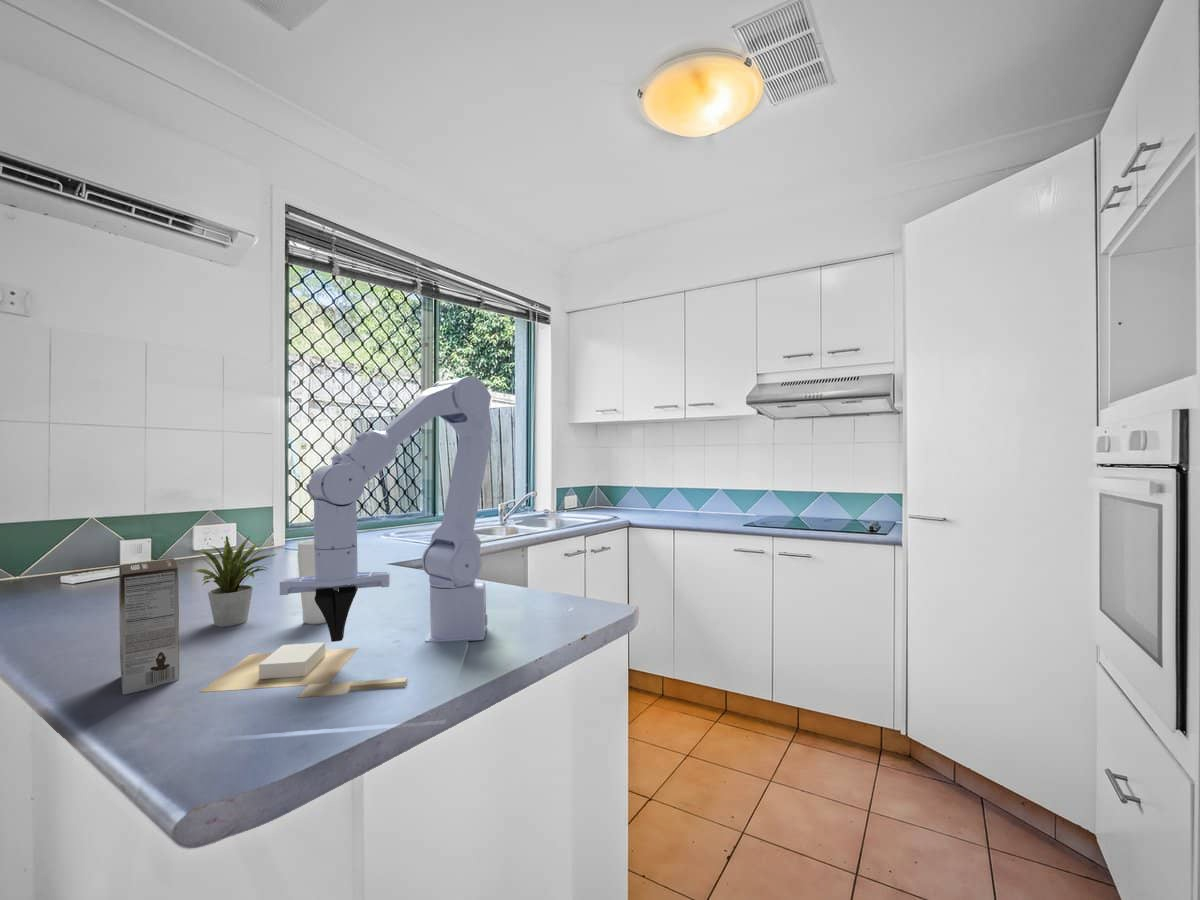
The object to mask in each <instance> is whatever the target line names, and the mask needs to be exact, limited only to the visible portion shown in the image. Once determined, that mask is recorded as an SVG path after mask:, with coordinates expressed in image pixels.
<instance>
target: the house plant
mask: <svg viewBox="0 0 1200 900" xmlns="http://www.w3.org/2000/svg"><path fill="white" fill-rule="evenodd" d="M250 537H251V535H249V536H248V537H247V538H246V539H245V540H244V541H243V542H242V543H241V545H240V546H239V547H238V548H237V550H236V551H235V553H234V549H232V547H231V543H229V542H230V541H229V537H228V535H226V536H225V543H224V546H223V552H221V550H220V549H219V548H217V547H216V546H213V545H209V547H211V548H214V549H215V550H216V551H217V552H218V554H219V556H220V558H221V563H220V562H219V559H218V558H217V557H216V556H215V555H214V554H212V552H210V551H208V550H206V549H204V548H201V549H200V551H198V552H199V553H201V554H204V555H205V556H206V557H208V558H209V560H211V562H212V563H213V564H214V566H215V567H214V566H213V564H212V563H210V562H209V561H208V560H207V559H206V558H204V557H203V556H202V555H200V554H198V553H196V555H197V556H199V557H201V558H202V559H203V560H204V561H205V562H206V563H207V564H209V566H211V567H212V568H213V570H214V572H215V573H216V574H215V573H214V572H213V571H211V570H208V569H205V568H199V569H196V570H194V571H193V573H200V574H205V575H203V579H202V582H204V583H203V584H202V586H204V585H205V584H208V583H210V582H211V580H209V579H214V580H212V582H214V583H216V585H217V586H218V587H216V588H212V589H210V590H209V591H207V594H208V599H209V605H210V609H211V615H212V618H213V619H212V620H213V624H214V626H215V627H223V628H224V627H232V626H237V625H241V624H243V623H246V622H247V621H248V618H249V611H250V606H251V599H252V593H253V589H254V588H253V585H250V584H243V583H244V582H242V581H244V580H245V579H246V578H247V576H248V577H250V576H251V577H252V578H253V579H255V574H254V573H256V572H259V571H261V572H262V571H266V572H267V571H268V570H269V571H270V569H269V568H268V567H266V565H268V563H266V564H263V565H261V566H260V565H257V566H256V565H255V566H251V565H252V564H255V563H257V562H259V561H261V560H264V559H266V558H271V557H274V556H276V555H278V554H276V553H275V554H266V555H262V556H258V557H254V556H256V554H258V553H260V552H263V551H265V549H263V548H265V547H266V548H267V547H270V546H271V544H269V545H264V546H261V547H259V548H258V549H256V547H257V546H259V544H261V543H262V542H264V541H263V540H262V541H260V542H256V543H254V544H252V545H251V547H249V549H248V550H246V551H245V553H244V554H243V552H244V550H245V549H246V547H245V546H246V544H247V542H248V541H249V539H250ZM274 545H275V543H274V544H272V546H274ZM255 549H256V550H255ZM258 550H259V551H258ZM233 553H234V554H233ZM242 554H243V555H242ZM252 554H253V555H252ZM251 555H252V556H251ZM250 556H251V557H250ZM248 557H250V558H249V560H247V559H248ZM253 557H254V558H253ZM221 564H222V565H221ZM271 564H272V563H270V565H271ZM250 566H251V567H250ZM248 567H250V568H248ZM247 568H248V569H247ZM253 569H254V570H253ZM251 570H252V571H251ZM269 571H268V572H269Z"/></svg>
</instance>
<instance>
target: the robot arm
mask: <svg viewBox="0 0 1200 900" xmlns="http://www.w3.org/2000/svg"><path fill="white" fill-rule="evenodd" d="M491 400H492V394H491V393H490V392H489V390H488V388H487V386H485V384H484V382H482V380H480V379H479V378H477V377H476V376H472V375H468V376H467V375H466V376H462V378H455V379H450V380H449V379H448V380H439V381H436V382H435V383H433V384H432V385H431V387H429V388H427V389H425V390H423V391H422V392H421V393H420V394H419V396H417V398H415V399H414V400H413V401H412V402H411V403H410V404H409V405H408V406H407V407H406V408H405V409H403V410H402V411H401V412H400V413H399V414H398V415H397V416H396V417H395V418H393V420H392V421H390V423H388V424H387V425H386V426H385V427H384V428H383V429H382V430H376V429H375V430H373V429H372V430H371V429H370V430H368V431H367V432H366V431H361V432H359V433H358V434H356V435H355V437H354V438H355V440H356V441H355V442H353V443H352V444H351V445H350V446H348V447H347V449H345V450H343V451H342V452H341V453H340V454H338V453H335V454H334V455H333V456H331V458H330V460H331V464H326V465H322V466H319V467H318V468H317V469H315V470H314V471H313V472H312V474H311V475H310V479H308V483H306V484H305V487H306V491H307V493H308V495H309V496H310V498H311V499H312V500H313V539H314V553H315V576H307V577H299V576H298V577H293V578H292V577H290V578H283V579H282V580H281V581H279V595H280V596H288V595H291V594H299V593H300V594H301V593H303V592H316V594H315V597H314V599H315V602H316V604H317V606H318V607H319V609H320V610H321V612H322V614H323V616H324V618H325V620H326V623H325V624H326V625H327V628H328V631H329V636H330V642H332V643H333V642H335V643H336V642H341V641H343V639H344V636H345V628H346V627H345V626H346V623H347V618H348V615H349V612H350V609H351V606H352V603H353V602H354V598H355V597H356V595H357V592H358V589H366V588H378V587H381V588H389V587H390V584H391V582H390V581H391V577H390V575H391V572H390V571H358V568H359V567H358V565H359V564H358V516H357V515H358V513H357V500H358V499H360V498H361V497H362V495H363V493H364V490H365V485H366V484H367V483H369V482H370V481H371V480H372V479H373V478H375V476H377V475H378V474H379V473H380V472H381V471H383V469H385V468H386V467H387V466H388V465H389V464H391V462H392V461H393V460H395V458H396V457H397V453H398V451H397V450H398V449H397V448H398V446H399V445H400V444H402V442H404V441H406V439H408V438H409V437H410V436H411V435H413V434H415V432H416V431H418V430H419V429H420V428H422V427H423V426H424V425H425V424H427V423H428V422H430V421H431V420H432V419H433V418H436V417H440V418H441V419H443V421H445V422H446V423H447V424H448V425H450V426H451V427H452V428H453V430H454V431H455V432H456V434H457V435H458V436H459V437H458V442H457V448H456V452H455V458H454V462H453V467H452V471H451V472H452V473H451V478H450V483H449V487H448V491H447V498H446V501H445V506H444V511H443V517H442V522H441V524H440V525H439V527H437V529H435V530H434V531H433V533H432V534H431V538H430V542H429V544H428V546H427V547H426V549H424V551H423V554H422V558H421V565H422V569H423V572H425V573H426V574H427V575H428V577H429V579H428V580H429V606H430V609H429V611H430V614H429V615H430V620H429V622H430V626H429V628H430V630H429V632H428V634H427V635H426V637H425V639H424V642H425V643H438V642H439V643H440V642H453V641H455V642H456V641H457V642H458V641H468V642H470V641H471V642H472V641H484V639H485V636H486V631H487V626H488V614H487V590H486V582H483V581H481V582H480V581H479V582H477V581H476V579H477V578H478V576H479V574H480V573H481V570H482V557H481V544H482V541H481V539H480V537H479V535H477V532H476V531H475V525H476V520H477V514H478V513H477V512H478V509H479V508H478V507H479V502H480V498H481V492H482V489H483V482H484V477H485V472H486V467H487V462H488V458H489V457H488V456H489V451H490V447H491V441H492V437H493V425H492V419H491V413H490V405H491Z"/></svg>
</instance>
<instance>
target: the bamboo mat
mask: <svg viewBox="0 0 1200 900" xmlns="http://www.w3.org/2000/svg"><path fill="white" fill-rule="evenodd" d="M358 650H359V647H353V648H351V647H350V648H338V649H337V648H335V649H325V656H324V657H323V658H322V659H321V661H320V662H319V663H318V664H317V665H316V666H315V667H314V668H313V669H312V670H311V671H310V672H309V673H308V674H307V675H306V676H300V677H284V678H268V679H259V664H260V663H261V662H263V661H264V660H265V659H266V658H268V657H269V656H270V655H271V654H273V653H274V652H269V653H268V652H266V653H251V654H248V655H247V656H246V657H244V658H243V659H242V660H240V661H239V662H238V663H237V664H235V665H234V666H233V667H231V668H230V669H228V670H227V671H226V672H224V673H223V674H222V675H221V676H219V677H217V678H216V679H215V680H213V681H212V682H211V683H210V684H208V685H207V686H205V687H204V688H203V689H201V690H200V691H199V693H214V692H228V691H240V690H241V691H243V690H256V689H257V690H258V689H270V688H285V687H286V688H287V687H288V688H289V687H303V686H308V685H310V684H322V683H332V682H331V681H333V679H334V678H335V677H336V675H338V674H339V673H340V671H341V670H342V669H343V668H344V666H345V665H346V664H347V663H348V662H349V660H350V659H351V658H352V657H353V656H354V654H355V653H356V651H358Z"/></svg>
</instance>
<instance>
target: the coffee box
mask: <svg viewBox="0 0 1200 900" xmlns="http://www.w3.org/2000/svg"><path fill="white" fill-rule="evenodd" d="M179 569H180V568H179V566H178V564H177V562H176V560H175V559H174V558H166V559H160V560H159V559H158V560H150V561H147V560H146V561H139V562H131V563H124V564H119V571H118V572H119V575H118V577H119V579H118V580H119V581H118V589H119V591H118V592H119V593H118V594H119V595H118V596H119V599H118V600H119V601H118V602H119V604H118V605H119V652H120V654H119V655H120V675H121V676H120V677H121V690H122V691H121V693H122V695H125V696H126V695H129V694H133V693H134V694H135V693H138V692H143V691H147V690H151V689H154V688H156V687H157V686H160V685H163V684H164V685H165V684H167V683H172V682H175V681H179V680H180V594H179V593H180V591H179V590H180V589H179V588H180V582H179V581H180V580H179V579H180V578H179V576H180V574H179V571H180V570H179Z"/></svg>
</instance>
